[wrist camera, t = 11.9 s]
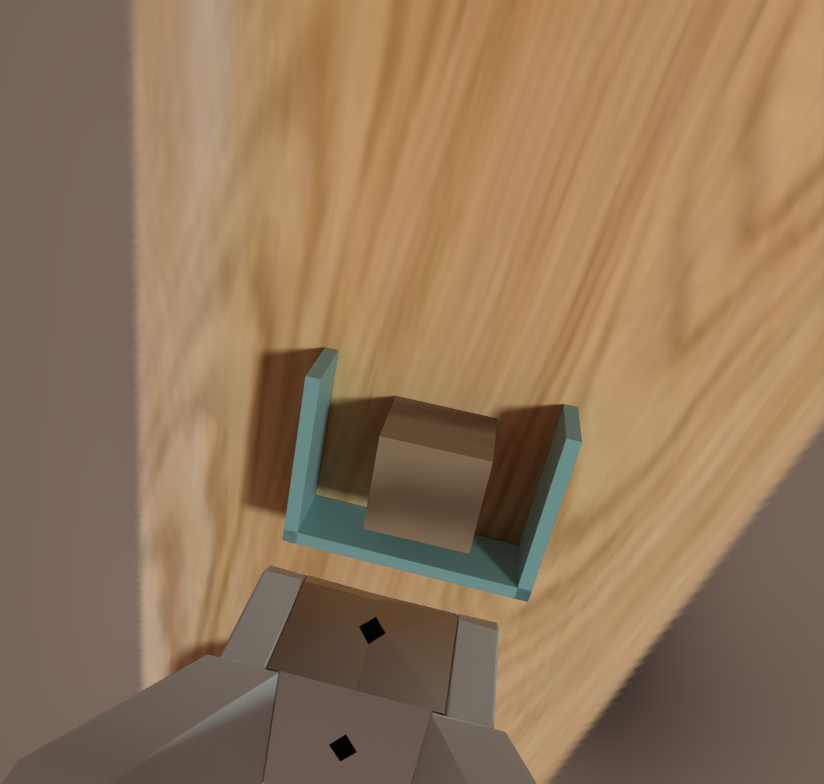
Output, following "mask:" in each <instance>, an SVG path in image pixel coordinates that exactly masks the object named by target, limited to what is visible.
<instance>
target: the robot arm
mask: <svg viewBox="0 0 824 784" xmlns="http://www.w3.org/2000/svg"><path fill="white" fill-rule="evenodd" d="M498 641H499V627H498V625H497V623H496V622H491V621H487V620H483V619H478V618H474V617H470V616H466V615H461V614H458V616H457V614H454V613H450V612H446V611H442V610H438V609H434V608H430V607H426V606H422V605H418V604H414V603H410V602H405V601H401V600H397V599H393V598H389V597H385V596H381V595H377V594H374V593H370V592H367V591H363V590H359V589H356V588H352V587H349V586H345V585H342V584H338V583H334V582H331V581H327V580H324V579H320V578H316V577H313V576H309V575H308V576H306V575H303V574H299V573H296V572H292V571H289V570H285V569H281V568H278V567H274V566H271V565H270V566H269V567H268V568H267V569H266V570H265V571H264V572H263V573H262V575H261V577H260V579H259V581H258V583H257V585H256V587H255V589H254V591H253V593H252V595H251V597H250V599H249V600H248V602H247V604H246V606H245V608H244V610H243V612H242V614H241V616H240V618H239V620H238V622H237V624H236V626H235V628H234V630H233V632H232V633H231V635H230V637H229V639H228V641H227V643H226V645H225V647H224V649H223V651H222V653H221V655H220V657H217V656H212V655H208V654H207V655H205V656H204V657H202V658H200V659H198V660H196V661H195V662H193V663H191V664H189V665H187V666H186V667H184V668H182V669H180V670H179V671H177V672H175V673H173V674H171V675H170V676H168V677H166V678H164V679H162V680H161V681H159V682H157V683H155V684H153V685H152V686H150V687H148V688H146V689H145V690H143V691H141V692H139V693H137V694H136V695H134V696H132V697H130V698H128V699H127V700H125V701H123V702H121V703H119V704H118V705H116V706H114V707H112V708H111V709H109V710H107V711H105V712H103V713H102V714H100V715H98V716H96V717H94V718H93V719H91V720H89V721H87V722H86V723H84V724H82V725H80V726H79V727H77V728H75V729H73V730H71V731H70V732H68V733H66V734H64V735H63V736H61V737H59V738H57V739H55V740H53V741H52V742H50V743H48V744H46V745H44V746H43V747H41V748H39V749H37V750H35V751H34V752H32V753H30V754H28V755H27V756H25V757H23V758H21V759H20V760H18V761H17V762H16V764H15V765H14V767H13V768H12V769H11V771H10V772H9V773H8V775H7V776H6V777H5V779H4V780H3V781H2V783H1V784H536V782H535V780H534V779H533V777H532V775H531V774H530V772H529V770H528V769H527V767H526V765H525V764H524V762H523V760H522V759H521V757H520V755H519V754H518V752H517V750H516V749H515V747H514V745H513V744H512V742H511V740H510V739H509V737H508V735H507V734H506V732H503V731H500V730H496V729H493V728H494V711H495V693H496V676H497V659H498Z"/></svg>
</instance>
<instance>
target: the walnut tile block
mask: <svg viewBox="0 0 824 784" xmlns="http://www.w3.org/2000/svg"><path fill="white" fill-rule="evenodd" d="M496 429H497V418H492V417H488V416H483V415H479V414H474V413H470V412H465V411H461V410H456V409H452V408H447V407H443V406H439V405H434V404H430V403H425V402H421V401H416V400H412V399H407V398H403V397H398V396H395V398H394V400H393V403H392V406H391V408H390V411H389V413H388V416H387V418H386V421H385V423H384V426H383V428H382V431H381V433H380V436H379V441H378V447H377V453H376V458H375V464H374V470H373V475H372V481H371V487H370V492H369V498H368V504H367V509H366V515H365V521H364V526H363V529H367V530H371V531H375V532H379V533H384V534H388V535H392V536H396V537H401V538H405V539H409V540H413V541H418V542H422V543H426V544H430V545H434V546H439V547H443V548H447V549H451V550H456V551H460V552H464V553H468V554H469V553H470V549H471V545H472V541H473V537H474V533H475V530H476V526H477V522H478V518H479V514H480V510H481V506H482V503H483V499H484V495H485V491H486V487H487V483H488V480H489V476H490V472H491V468H492V464H493V458H494V448H495V438H496Z"/></svg>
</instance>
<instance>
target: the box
mask: <svg viewBox="0 0 824 784" xmlns="http://www.w3.org/2000/svg"><path fill="white" fill-rule="evenodd" d="M337 357H338V351H337V350H333V349H328V348H324V350H323V351H322V353H321V354H320V355H319V357H318V358H317V360H316V361H315V363H314V364H313V366H312V367H311V369H310V370H309V372H308V373H307V374H306V376H305V383H304V390H303V397H302V404H301V412H300V419H299V426H298V433H297V440H296V448H295V455H294V462H293V469H292V476H291V483H290V491H289V498H288V505H287V512H286V519H285V526H284V534H283V540H284V541H288V542H292V543H296V544H300V545H304V546H307V547H311V548H315V549H319V550H323V551H327V552H331V553H335V554H339V555H343V556H347V557H351V558H355V559H359V560H363V561H367V562H371V563H375V564H379V565H383V566H387V567H391V568H395V569H399V570H403V571H407V572H411V573H415V574H419V575H423V576H427V577H431V578H435V579H439V580H443V581H447V582H451V583H455V584H459V585H463V586H466V587H470V588H474V589H478V590H482V591H486V592H490V593H494V594H498V595H502V596H506V597H510V598H514V599H518V600H522V601H526V602H528V600H529V597H530V594H531V591H532V588H533V585H534V582H535V579H536V576H537V573H538V570H539V567H540V565H541V562H542V559H543V556H544V553H545V550H546V547H547V544H548V541H549V538H550V535H551V532H552V529H553V526H554V523H555V520H556V517H557V514H558V511H559V508H560V505H561V502H562V500H563V497H564V494H565V491H566V488H567V485H568V482H569V479H570V476H571V473H572V470H573V467H574V464H575V461H576V458H577V455H578V452H579V449H580V446H581V443H582V439H581V430H580V421H579V413H578V408H577V407H573V406H569V405H563V408H562V412H561V415H560V418H559V421H558V424H557V427H556V431H555V434H554V437H553V440H552V443H551V446H550V449H549V453H548V456H547V459H546V462H545V465H544V468H543V471H542V475H541V478H540V481H539V484H538V487H537V490H536V494H535V497H534V500H533V503H532V506H531V509H530V512H529V516H528V519H527V522H526V525H525V528H524V531H523V534H522V538H521V541H520V544H519V545H515V544H511V543H507V542H503V541H499V540H495V539H491V538H487V537H483V536H479V535H475V534H474V537H473V541H472V545H471V549H470V553H469V554H468V553H464V552H460V551H456V550H451V549H447V548H443V547H439V546H434V545H430V544H426V543H422V542H418V541H413V540H409V539H405V538H401V537H396V536H392V535H388V534H384V533H379V532H375V531H371V530H367V529H363V526H364V521H365V515H366V509H367V508H366V507H362V506H358V505H354V504H350V503H346V502H342V501H338V500H334V499H330V498H326V497H322V496H318V495H316V489H317V483H318V477H319V470H320V464H321V458H322V452H323V445H324V439H325V433H326V426H327V420H328V414H329V407H330V401H331V395H332V389H333V382H334V376H335V370H336V363H337Z"/></svg>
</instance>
